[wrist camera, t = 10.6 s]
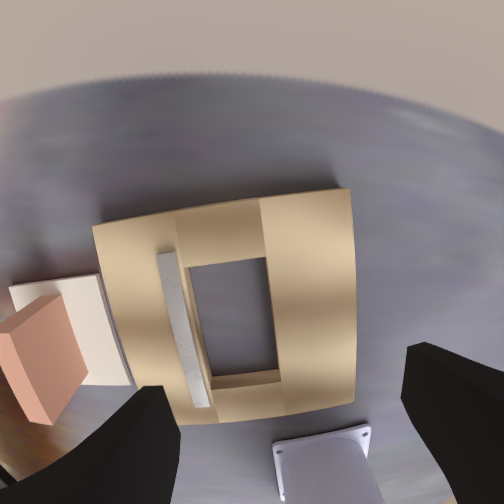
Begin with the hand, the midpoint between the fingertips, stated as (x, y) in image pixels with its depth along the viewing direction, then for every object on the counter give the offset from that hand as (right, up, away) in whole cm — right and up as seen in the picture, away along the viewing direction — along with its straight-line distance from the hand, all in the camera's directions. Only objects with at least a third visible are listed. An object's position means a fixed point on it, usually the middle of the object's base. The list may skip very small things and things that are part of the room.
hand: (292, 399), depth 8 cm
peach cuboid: (-14, -2, +10) cm, 17 cm away
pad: (-14, -2, +11) cm, 18 cm away
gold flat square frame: (-2, 0, +11) cm, 11 cm away
